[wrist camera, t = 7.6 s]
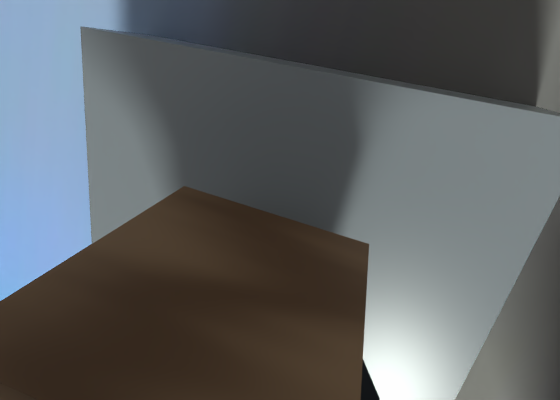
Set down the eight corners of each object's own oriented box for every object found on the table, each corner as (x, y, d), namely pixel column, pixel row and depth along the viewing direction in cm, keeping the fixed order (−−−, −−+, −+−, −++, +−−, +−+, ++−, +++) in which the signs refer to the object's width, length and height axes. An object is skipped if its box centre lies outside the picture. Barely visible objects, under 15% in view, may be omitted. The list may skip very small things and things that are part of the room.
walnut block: (369, 244, 9) (353, 540, 3) (317, 384, 11) (254, 712, 5) (184, 186, 10) (-75, 348, 4) (168, 327, 11) (-20, 562, 6)
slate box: (530, 105, 12) (597, 123, 8) (418, 365, 17) (429, 448, 13) (155, 35, 14) (80, 26, 11) (150, 280, 19) (96, 331, 15)
